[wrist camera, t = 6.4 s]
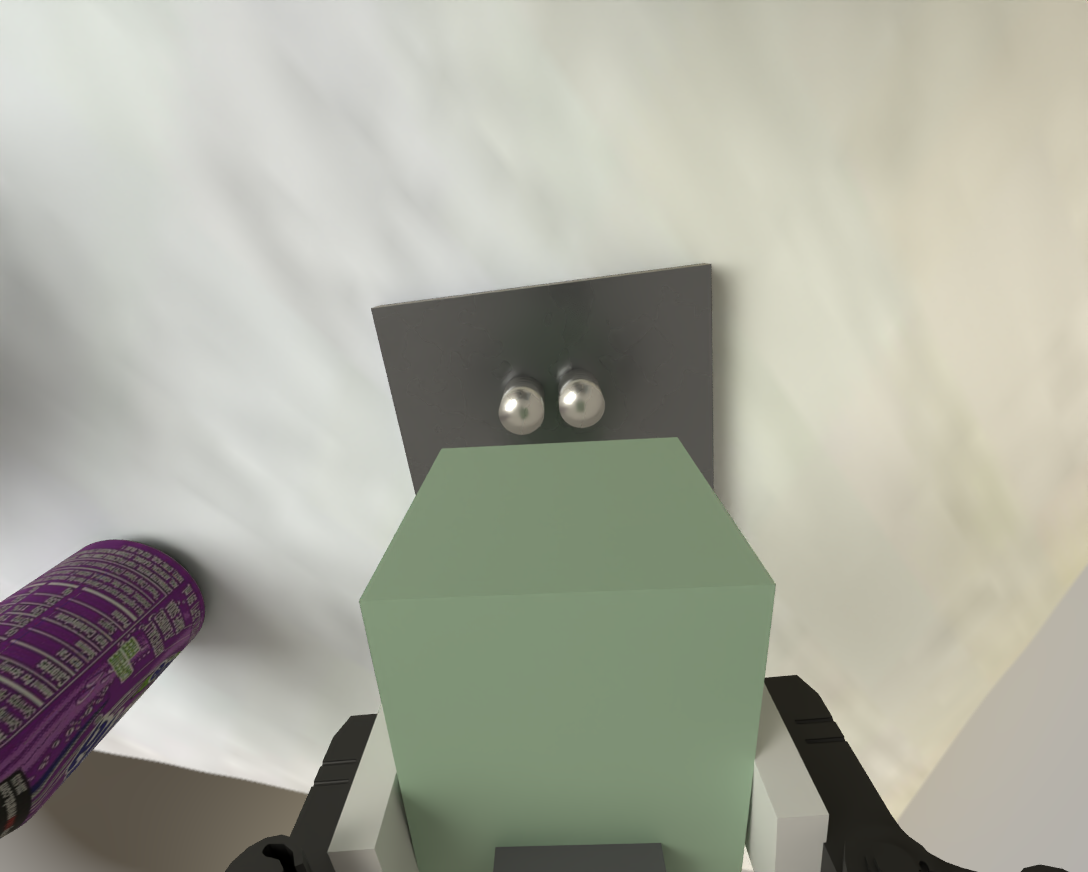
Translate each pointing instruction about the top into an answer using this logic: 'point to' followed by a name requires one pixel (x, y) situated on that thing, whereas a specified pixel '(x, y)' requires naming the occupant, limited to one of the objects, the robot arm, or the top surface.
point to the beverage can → (83, 660)
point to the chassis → (554, 365)
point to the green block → (571, 661)
